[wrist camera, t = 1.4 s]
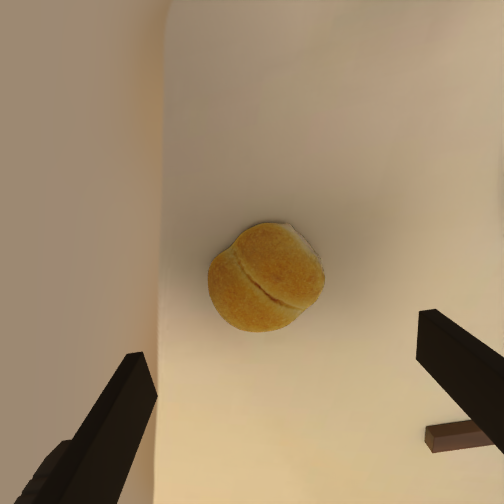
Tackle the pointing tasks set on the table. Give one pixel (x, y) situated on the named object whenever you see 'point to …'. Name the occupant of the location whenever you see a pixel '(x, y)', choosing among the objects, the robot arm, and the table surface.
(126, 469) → the robot arm
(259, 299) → the bread roll
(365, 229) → the table surface
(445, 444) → the wooden spoon
